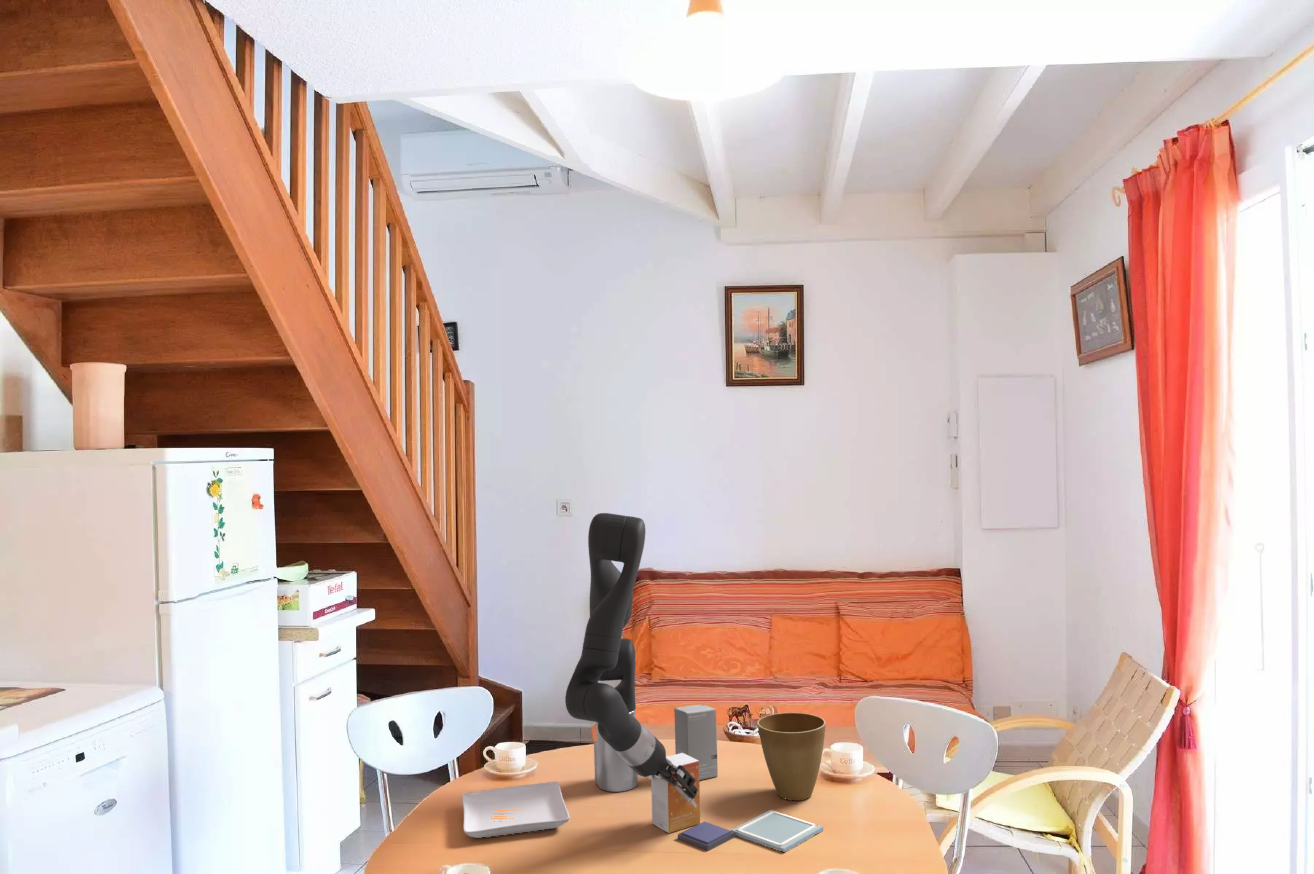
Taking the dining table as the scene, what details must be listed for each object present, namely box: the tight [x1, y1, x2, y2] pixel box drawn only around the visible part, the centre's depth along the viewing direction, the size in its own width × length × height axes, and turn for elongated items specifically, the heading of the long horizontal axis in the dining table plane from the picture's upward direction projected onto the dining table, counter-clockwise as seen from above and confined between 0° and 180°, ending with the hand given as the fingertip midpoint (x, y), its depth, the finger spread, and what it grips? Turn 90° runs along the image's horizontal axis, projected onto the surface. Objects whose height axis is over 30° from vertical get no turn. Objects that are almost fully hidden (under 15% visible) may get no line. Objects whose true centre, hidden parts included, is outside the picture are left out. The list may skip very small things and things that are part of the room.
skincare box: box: [673, 703, 719, 781], centre depth 211 cm, size 8×7×16 cm
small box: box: [650, 753, 701, 834], centre depth 184 cm, size 8×6×13 cm
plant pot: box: [756, 712, 827, 801], centre depth 198 cm, size 15×15×16 cm
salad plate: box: [461, 781, 571, 839], centre depth 190 cm, size 21×21×3 cm
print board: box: [730, 809, 824, 853], centre depth 179 cm, size 13×13×1 cm
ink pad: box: [677, 821, 736, 851], centre depth 177 cm, size 8×8×1 cm
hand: (680, 789), depth 185 cm, fingers closed on small box, 7 cm apart
